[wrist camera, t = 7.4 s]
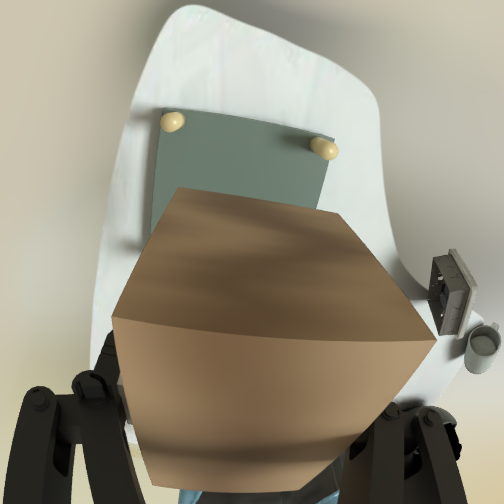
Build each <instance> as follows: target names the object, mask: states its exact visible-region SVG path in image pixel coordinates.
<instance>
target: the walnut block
mask: <svg viewBox="0 0 504 504" xmlns="http://www.w3.org/2000/svg"><path fill="white" fill-rule="evenodd" d="M111 318H112V325H113V332H114V339H115V345H116V351H117V357H118V362H119V367H120V372H121V377H122V382H123V387H124V391H125V396H126V400H127V404H128V408H129V412H130V416H131V420H132V423H133V427H134V431H135V434H136V437H137V441H138V444H139V447H140V451H141V454H142V457H143V460H144V463H145V466H146V469H147V472H148V474H149V477H150V480H151V482H152V485H154V486H160V487H167V488H175V489H183V490H193V491H206V492H227V493H260V492H281V491H293V490H299V489H301V488H302V487H303V486H304V485H306V484H307V483H308V482H309V481H311V480H312V479H313V478H314V477H315V476H317V475H318V474H319V473H320V472H321V471H323V470H324V469H325V468H326V467H327V466H328V465H329V464H331V463H332V462H333V461H334V460H335V459H336V458H337V457H338V456H339V455H340V454H342V453H343V452H344V451H345V450H346V449H347V448H348V447H349V446H350V445H351V444H352V443H353V442H354V441H355V440H356V439H357V438H358V437H359V436H360V435H361V434H362V433H363V432H364V431H365V430H366V429H367V428H368V427H369V426H370V425H371V423H372V422H373V421H374V420H375V419H376V418H377V417H378V416H379V415H380V414H381V412H382V411H383V410H384V409H385V408H386V407H387V406H388V404H389V403H390V402H391V401H392V400H393V399H394V397H395V396H396V395H397V394H398V393H399V391H400V390H401V389H402V388H403V386H404V385H405V384H406V383H407V381H408V380H409V379H410V377H411V376H412V375H413V373H414V372H415V371H416V369H417V368H418V367H419V365H420V364H421V363H422V361H423V360H424V359H425V357H426V356H427V354H428V353H429V351H430V350H431V348H432V347H433V346H434V344H435V343H436V341H437V339H436V338H435V336H434V335H433V333H432V332H431V330H430V329H429V328H428V326H427V325H426V323H425V322H424V321H423V319H422V318H421V316H420V315H419V314H418V312H417V311H416V309H415V308H414V307H413V305H412V304H411V303H410V301H409V300H408V299H407V297H406V296H405V295H404V293H403V292H402V291H401V289H400V288H399V287H398V285H397V284H396V283H395V281H394V280H393V279H392V278H391V276H390V275H389V274H388V272H387V271H386V270H385V269H384V267H383V266H382V265H381V264H380V262H379V261H378V260H377V259H376V257H375V256H374V255H373V254H372V253H371V251H370V250H369V249H368V248H367V247H366V245H365V244H364V243H363V242H362V241H361V239H360V238H359V237H358V236H357V235H356V233H355V232H354V231H353V230H352V229H351V228H350V226H349V225H348V224H347V223H346V222H345V221H344V220H343V218H342V217H341V216H340V215H339V214H338V213H333V212H328V211H322V210H317V209H312V208H307V207H302V206H296V205H291V204H285V203H279V202H274V201H268V200H262V199H256V198H250V197H244V196H237V195H231V194H224V193H217V192H211V191H204V190H196V189H189V188H181V187H178V188H177V190H176V192H175V193H174V195H173V197H172V198H171V200H170V202H169V204H168V205H167V207H166V209H165V211H164V212H163V214H162V216H161V218H160V220H159V221H158V223H157V225H156V227H155V229H154V231H153V232H152V234H151V236H150V238H149V240H148V242H147V244H146V246H145V248H144V249H143V251H142V253H141V255H140V257H139V259H138V261H137V263H136V265H135V267H134V269H133V271H132V273H131V275H130V277H129V279H128V281H127V283H126V286H125V288H124V290H123V292H122V294H121V296H120V298H119V300H118V303H117V305H116V307H115V309H114V311H113V314H112V316H111Z"/></svg>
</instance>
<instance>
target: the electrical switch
mask: <svg viewBox="0 0 504 504" xmlns="http://www.w3.org/2000/svg"><path fill="white" fill-rule="evenodd" d="M439 273H441V274H439ZM441 276H443V280H438V277H441ZM436 283H437V284H436ZM441 283H442V284H441ZM432 286H433V287H432ZM476 294H477V284H476V282H475V280H474V279H473V277H472V275H471V273H470V272H469V270H468V268H467V267H466V265H465V263H464V262H463V260H462V259H461V257H460V255H459V253H458V252H457V250H456V249H449V253H448V255H443V256H439V257H433V262H432V270H431V277H430V284H429V292H428V299H429V300H427V301H428V304H429V307H430V310H431V312H432V315H433V319H434V322H435V325H436V328H437V331H438V334H439V336H442V335H453V334H455V338H456V339H460V338H463V336H464V333H465V330H466V327H467V324H468V321H469V318H470V314H471V311H472V308H473V304H474V301H475V297H476ZM441 314H442V315H443V316H442V317H441Z"/></svg>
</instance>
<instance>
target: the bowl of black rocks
mask: <svg viewBox="0 0 504 504" xmlns="http://www.w3.org/2000/svg"><path fill="white" fill-rule="evenodd" d="M425 407H429V408H432V409H434V410H436V411H437V412H438V413H439V415H440V417H441V419H442V421H443V424H444V427H445V430H446V433H447V435H448V438H449V441H450V444H451V447H452V450H453V453H454V457H455V460H456V461H457V460H458V459H459V457H460V452H461V449H462V445H461V444H460V443H459V439H458V436H457V434H456V431H455V427H456V425H457V422H456V420H455V419H454V417H453V416H452V415H451V414H450V413H448V412H447V411H446V410H444V409H441V408H439V407H435V406H420V407H416V408H413V409H410V410H408V411H406V412H409V413H416V414H417V413H418V412H419V411H420V410H421V409H422V408H425ZM416 450H417V452H418V453H420V452H419V448H417V449H416Z"/></svg>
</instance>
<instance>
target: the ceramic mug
mask: <svg viewBox="0 0 504 504" xmlns="http://www.w3.org/2000/svg"><path fill="white" fill-rule="evenodd" d="M498 328H499V325H498V324H496V323H493V324H492V325H491V326H488V325H482V326H479V327H476V328H475V329H474V330H473V331H472V332H471V333H470V335H469V338H468V343H467V347H466V351H465V355H464V364H465V367H466V368H467V370H468V371H469V372H471V373H473V374H481V373H484V372H485V371H487V370H488V369H489V368H490V366H491V365H492V363H493V362H494V359H495V357H496V355H497V353H498V351H499V349H500V346H501V336H500V334H499V333H498Z"/></svg>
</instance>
